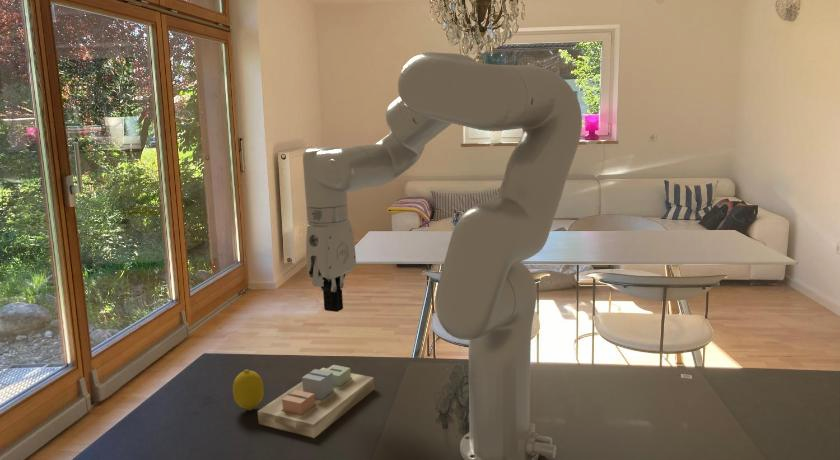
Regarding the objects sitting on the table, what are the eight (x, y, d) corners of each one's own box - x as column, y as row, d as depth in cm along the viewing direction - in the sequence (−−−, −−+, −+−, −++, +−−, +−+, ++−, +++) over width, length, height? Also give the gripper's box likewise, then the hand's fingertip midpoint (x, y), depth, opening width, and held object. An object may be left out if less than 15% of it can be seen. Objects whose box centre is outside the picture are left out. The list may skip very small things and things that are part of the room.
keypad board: (374, 389, 126) (373, 377, 125) (314, 438, 108) (313, 424, 108) (323, 378, 131) (322, 367, 130) (258, 423, 113) (257, 410, 113)
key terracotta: (317, 416, 115) (315, 393, 114) (303, 427, 111) (301, 403, 111) (296, 411, 117) (294, 389, 116) (282, 421, 113) (280, 398, 113)
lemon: (257, 418, 115) (253, 377, 114) (229, 416, 117) (225, 375, 115) (270, 404, 121) (267, 364, 119) (243, 402, 122) (239, 362, 120)
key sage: (351, 388, 126) (350, 367, 125) (340, 397, 122) (338, 375, 121) (334, 385, 127) (333, 364, 126) (322, 393, 124) (321, 372, 123)
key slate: (333, 394, 120) (332, 371, 119) (321, 403, 116) (320, 380, 116) (316, 390, 122) (314, 368, 121) (303, 399, 118) (302, 376, 117)
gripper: (320, 223, 109) (327, 325, 113) (366, 208, 122) (371, 300, 126) (285, 221, 113) (293, 320, 116) (333, 207, 126) (339, 296, 129)
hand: (333, 309), depth 121 cm, fingers closed
